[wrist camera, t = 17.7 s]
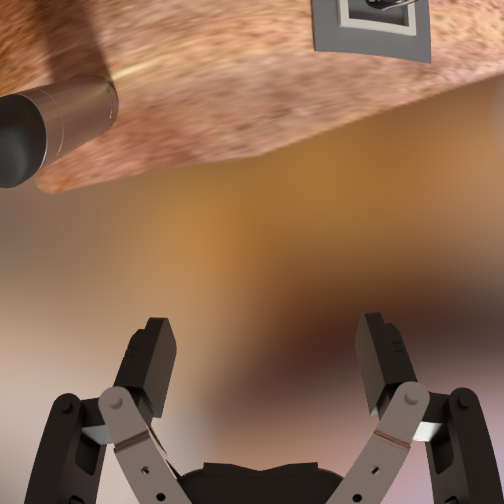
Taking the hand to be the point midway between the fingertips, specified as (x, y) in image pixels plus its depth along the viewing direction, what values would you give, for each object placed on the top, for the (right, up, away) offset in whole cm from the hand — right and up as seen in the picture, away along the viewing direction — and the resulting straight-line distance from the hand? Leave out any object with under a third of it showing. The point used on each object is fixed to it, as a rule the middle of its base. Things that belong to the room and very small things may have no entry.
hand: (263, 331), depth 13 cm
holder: (+15, +37, +15) cm, 42 cm away
